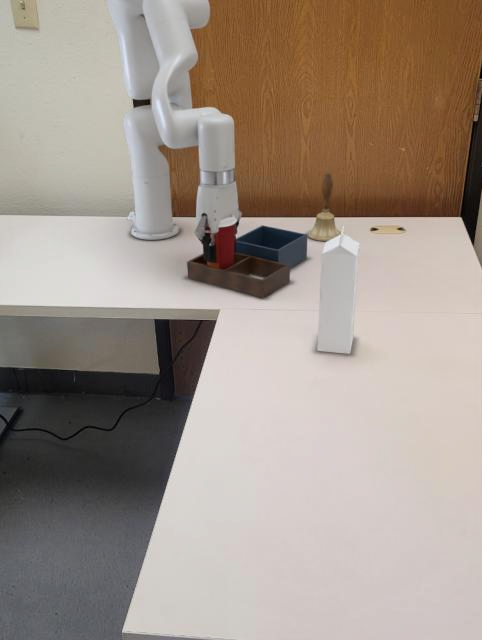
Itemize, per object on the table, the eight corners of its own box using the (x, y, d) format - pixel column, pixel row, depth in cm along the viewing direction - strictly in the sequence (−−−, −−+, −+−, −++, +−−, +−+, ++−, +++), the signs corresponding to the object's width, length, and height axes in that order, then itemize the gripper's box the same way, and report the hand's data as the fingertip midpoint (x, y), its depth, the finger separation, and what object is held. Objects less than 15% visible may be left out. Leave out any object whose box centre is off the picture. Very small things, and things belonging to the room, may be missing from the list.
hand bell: (342, 231, 187) (345, 169, 179) (339, 242, 180) (342, 178, 172) (310, 229, 189) (312, 168, 181) (306, 240, 182) (308, 177, 174)
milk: (317, 351, 132) (321, 235, 121) (321, 336, 137) (325, 224, 126) (350, 354, 131) (358, 237, 119) (353, 339, 136) (361, 225, 124)
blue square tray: (232, 265, 169) (231, 240, 166) (262, 248, 178) (262, 225, 175) (278, 276, 163) (278, 250, 160) (306, 258, 171) (307, 234, 168)
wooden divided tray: (187, 278, 163) (186, 261, 161) (215, 263, 170) (215, 247, 168) (263, 298, 152) (263, 281, 150) (289, 281, 160) (290, 264, 158)
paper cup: (239, 269, 167) (237, 209, 160) (236, 282, 160) (234, 221, 153) (205, 268, 168) (202, 209, 160) (201, 282, 161) (198, 221, 154)
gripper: (227, 165, 160) (229, 241, 169) (177, 183, 148) (182, 265, 158) (255, 169, 156) (255, 247, 166) (206, 189, 144) (210, 272, 154)
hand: (220, 255), depth 161 cm, fingers closed on paper cup, 6 cm apart
